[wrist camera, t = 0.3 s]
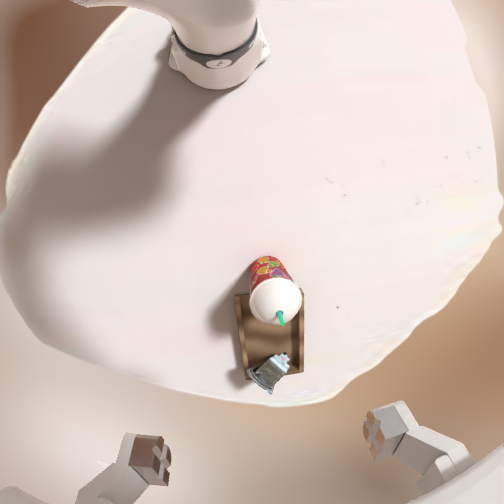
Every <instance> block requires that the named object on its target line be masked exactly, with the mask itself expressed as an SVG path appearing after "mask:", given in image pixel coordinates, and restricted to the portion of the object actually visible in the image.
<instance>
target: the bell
mask: <svg viewBox="0 0 504 504" xmlns="http://www.w3.org/2000/svg"><path fill="white" fill-rule="evenodd" d="M289 360H290V358H288V357H287V353H286V352H283V353H282V354H280V355H279V356H277V355H274V356H273V357H271V358H269V359H268V360H266V362H265V363H263V364H261V365H258V366H255V367H252V368H250V369H248V370H247V372H248V374H249V376H250V377H251V378H252V379H253V381H254V382H255V383H257V384H258V385H259V386H260V387H261V388H263V389H265V390H267V391H268V393H269V394H272V392H273V389H274V385H275V383H276V382H277V381H279V380H280V379H281V378H282V377H283V376H284V375H285V374H286V373H287V370H288V368H289V365H288V364H287V362H288V361H289Z"/></svg>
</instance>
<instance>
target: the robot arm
mask: <svg viewBox="0 0 504 504" xmlns="http://www.w3.org/2000/svg"><path fill="white" fill-rule="evenodd" d="M71 1H73V2H75V3H77V4H79V5H82V6H84V7H95V6H110V5H115V6H127V7H134V8H138V9H142V10H146V11H149V12H152V13H155V14H157V15H160V16H162V17H164V18H166V19H167V20H168V21H169V22H170V23H171V25H172V29H173V30H174V35H172V36H171V42H172V47H171V52H170V57H169V66H170V67H171V68H172V69H175V70H177V71H180V72H182V73H183V74H184V75H185V76H186V77H187V78H188V79H189V80H190V81H192V82H193V83H195V84H196V85H198V86H201V87H204V88H207V89H226V88H230V87H233V86H236V85H238V84H240V83H242V82H243V81H245V80H246V79H247V78H248V77H249V76H250V75H251V74H252V73H253V71H254V70H255V68H256V67H257V65H258V64H259V63H261V62H262V61H264V60H266V59H267V58H268V57H269V56H270V49H269V47H268V44H267V42H266V39H265V36H264V34H263V31H262V29H261V26H260V24H259V22H258V19H257V12H258V7H259V0H71ZM263 47H264V49H263ZM363 433H364V437H365V439H366V441H367V442H369V443H370V444H371V447H370V451H371V453H372V456H373V458H374V460H379V459H382V458H384V457H387V456H390V455H393V456H394V457H396V458H397V459H399V460H400V461H402V462H403V463H405V464H406V465H408V466H410V467H411V468H412V469H414V470H416V471H417V472H419V473H420V474H422V476H421V477H420V478H419V480H418V481H417V482H416V483H415V485H414V486H415V488H416V490H417V493H418V494H419V497H418V498H416V499H414V500H412V501H410V502H408V503H405V504H504V442H503V443H502V444H501V445H499V446H498V447H497V448H496V449H494V450H493V451H492V452H491V453H489V454H488V455H487V456H485V457H484V458H483V459H481V460H480V461H478V462H477V463H476V464H475V462H474V461H473V459H472V457H471V456H470V454H469V452H468V451H467V449H466V448H465V446H464V445H463V443H461V442H458V441H456V440H453V439H451V438H449V437H446V436H444V435H442V434H440V433H437V432H435V431H433V430H431V429H429V428H426V427H424V426H420V427H419V425H418V423H417V422H416V420H415V419H414V417H413V416H412V414H411V412H410V411H409V409H408V407H407V406H406V404H405V403H404V402H403V401H398V402H395V403H392V404H388V405H386V406H383V407H380V408H377V409H374V410H371V411H369V412H368V413H367V420H366V421H365V422H364V425H363ZM170 465H171V452H170V449H169V447H168V446H167V445H165V444H164V439H163V438H162V436H151V435H139V434H131V433H126V434H125V435H124V437H123V440H122V444H121V447H120V451H119V454H118V458H117V462H116V463H112V464H111V465H110V466H109V467H108V468H106V469H105V470H104V471H103V472H102V473H100V474H99V475H98V476H97V477H95V478H94V479H93V480H92V481H90V482H89V483H88V484H87V485H85V486H84V487H83V488H81V489H80V490H79V492H78V495H77V499H76V502H75V504H133V503H134V502H135V501H136V500H137V499H138V498H139V497H140V495H141V494H142V493H143V492H144V491H145V490H146V489H147V487H148V486H149V485H148V484H150V485H160V486H168V482H169V475H170V473H169V472H168V471H167V468H168V467H169V466H170ZM0 504H47V503H46V502H43V501H41V500H39V499H37V498H35V497H33V496H31V495H29V494H28V493H26V492H24V491H22V490H20V489H19V488H17V487H14V486H9V487H6V488H4V489H2V490H0Z"/></svg>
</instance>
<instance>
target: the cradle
mask: <svg viewBox="0 0 504 504" xmlns="http://www.w3.org/2000/svg"><path fill="white" fill-rule="evenodd" d="M299 290H300V291H301V295H302V303H301V307H300V309H299V311H298V313H297V314H296V315H295V316H294V317H293V318H292V319H291V320H290V321H288V322H287V323H285V325H284V326H281V325H270V324H267V323H264V322H261V321H260V320H258V319H257V318H256V317H255V316H254V315H253V314H252V312H251V309H250V306H249V305H250V294H245V295H236V296H235V308H236V315H237V322H238V329H239V336H240V343H241V350H242V356H243V363H244V369H245V376H246V380H251V379H252V378H251V377H250V376H249V374H248V372H247V370H248V369H250V368H252V367H255V366H258V365H261V364H263V363H265V362H266V360H268V359H269V358H271V357H273V356H274V355H277V356H279V355H280V354H282V353H283V352H286V353H287V357H288V358H290V360H289V361H288V362H287V364H288V365H289V368H288V370H287V373H286V374H285V375H289V374H296V373H302V372H304V293H303V291H302V289H301V288H299Z"/></svg>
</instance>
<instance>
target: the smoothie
mask: <svg viewBox="0 0 504 504" xmlns="http://www.w3.org/2000/svg"><path fill="white" fill-rule="evenodd" d="M301 303H302V295H301V291H300V290H299V288H298V287H297V285H296V284H295V283H294V281H293V280H292V278H291V277H290V275H289V274H288V272H287V271H286V269H285V268H284V266H283V265H282V263H281V262H280V261H279V260H278V259H276V258H274V257H271V256H264V257H261V258H259V259H257V260H256V261H255V262H254V263H253V264H252V266H251V268H250V305H249V306H250V309H251V312H252V314H253V315H254V316H255V317H256V318H257V319H258V320H260V321H261V322H264V323H267V324H270V325H281V326H284V325H285V323H287V322H288V321H290V320H291V319H292V318H293V317H294V316H295V315H296V314H297V313H298V311H299V309H300V307H301Z"/></svg>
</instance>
